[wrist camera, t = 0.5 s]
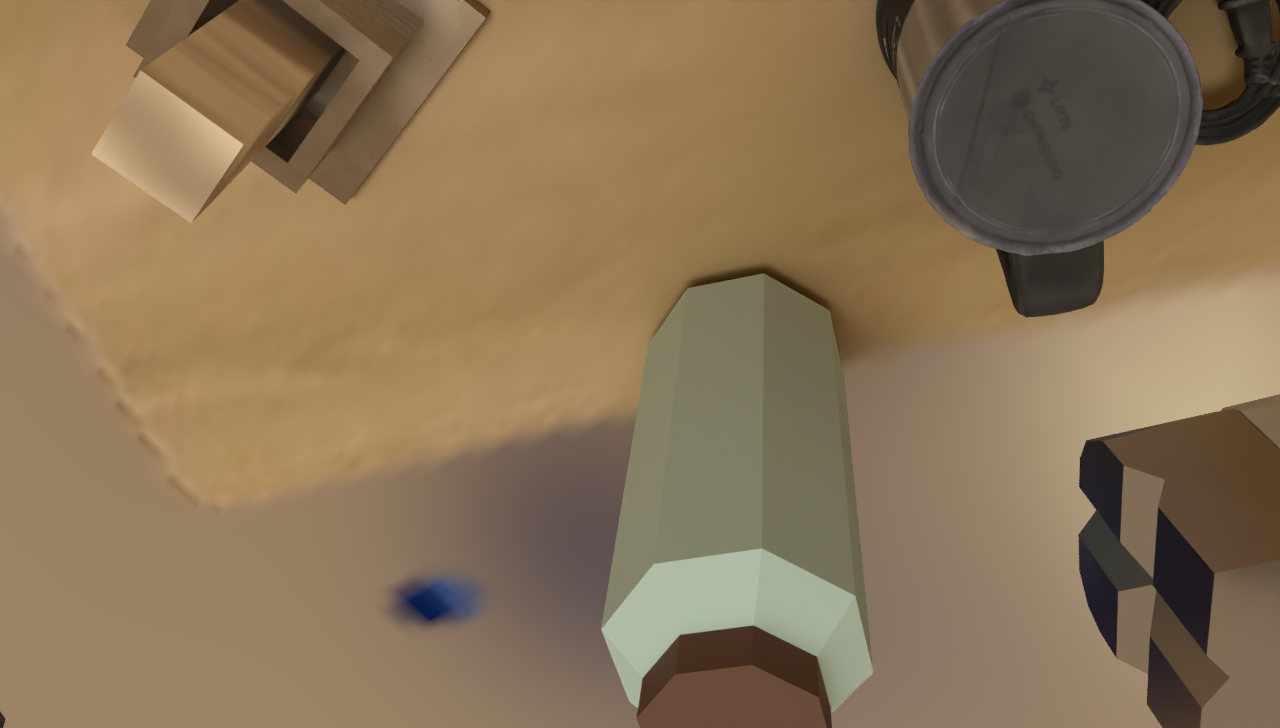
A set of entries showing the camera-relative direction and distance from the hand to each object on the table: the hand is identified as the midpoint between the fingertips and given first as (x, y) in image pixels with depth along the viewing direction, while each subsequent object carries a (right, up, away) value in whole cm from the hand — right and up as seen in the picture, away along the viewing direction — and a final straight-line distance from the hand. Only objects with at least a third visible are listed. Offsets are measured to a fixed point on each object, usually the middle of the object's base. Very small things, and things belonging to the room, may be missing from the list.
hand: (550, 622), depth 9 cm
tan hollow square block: (-14, +17, +45) cm, 50 cm away
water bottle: (+6, +3, +52) cm, 52 cm away
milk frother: (+20, +17, +41) cm, 49 cm away
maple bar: (-14, +17, +44) cm, 49 cm away
